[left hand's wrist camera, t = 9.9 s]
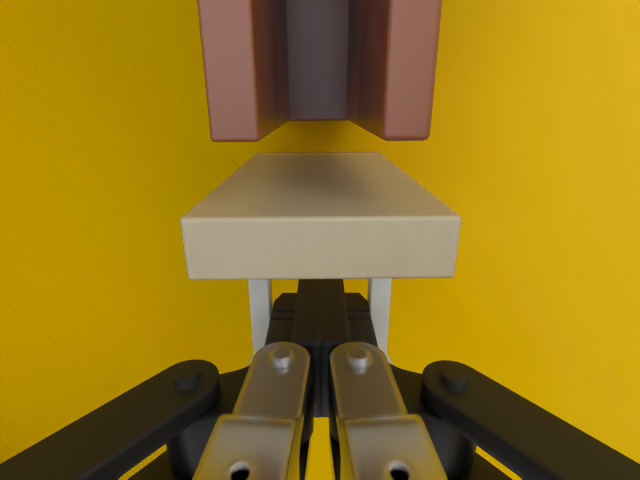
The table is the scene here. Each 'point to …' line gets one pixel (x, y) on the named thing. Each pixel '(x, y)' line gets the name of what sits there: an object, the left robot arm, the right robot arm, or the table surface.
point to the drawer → (319, 168)
